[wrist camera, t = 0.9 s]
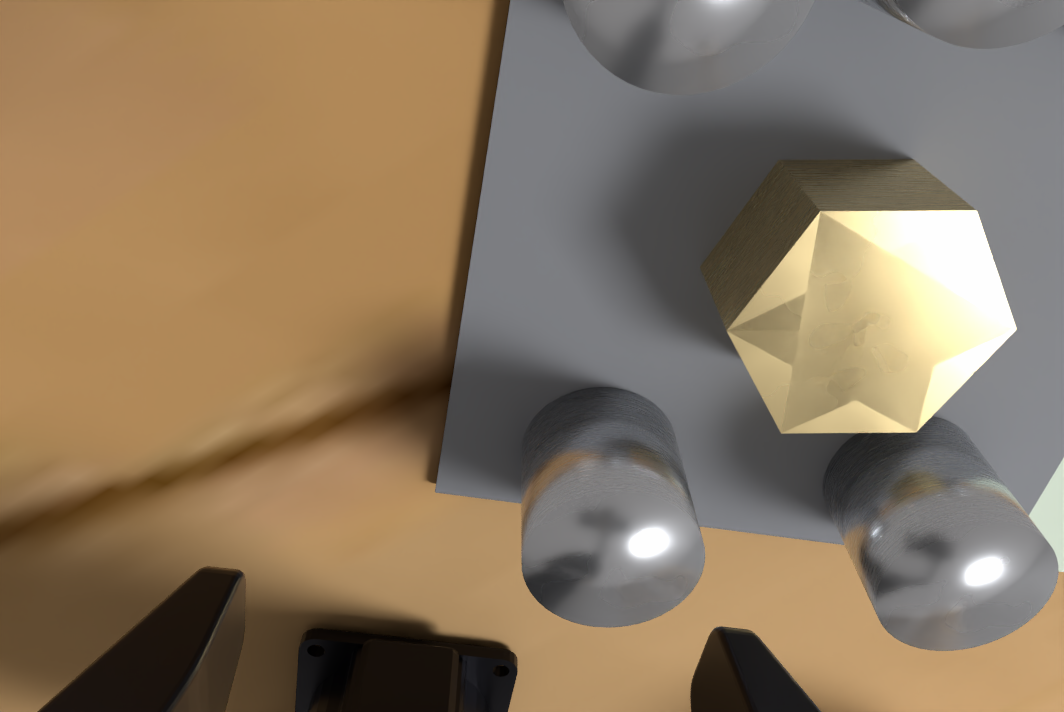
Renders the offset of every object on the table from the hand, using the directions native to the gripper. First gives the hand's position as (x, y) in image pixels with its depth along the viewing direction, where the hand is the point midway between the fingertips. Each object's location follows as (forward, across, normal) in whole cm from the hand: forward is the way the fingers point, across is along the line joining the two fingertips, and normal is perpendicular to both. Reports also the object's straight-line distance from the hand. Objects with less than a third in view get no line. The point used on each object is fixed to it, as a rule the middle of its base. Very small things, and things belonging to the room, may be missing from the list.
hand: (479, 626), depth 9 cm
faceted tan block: (+12, -8, 0) cm, 14 cm away
